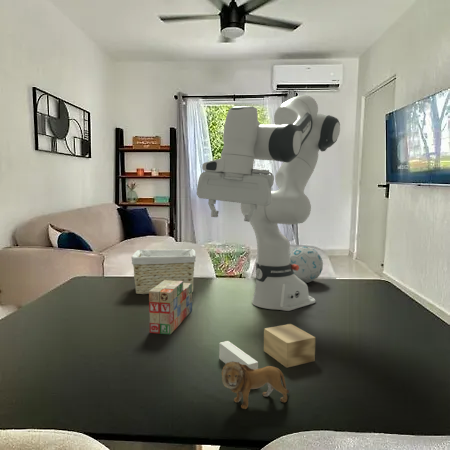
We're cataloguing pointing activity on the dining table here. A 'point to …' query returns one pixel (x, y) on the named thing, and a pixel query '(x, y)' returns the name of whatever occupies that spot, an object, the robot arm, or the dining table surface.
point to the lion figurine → (252, 380)
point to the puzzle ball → (306, 263)
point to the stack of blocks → (169, 305)
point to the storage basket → (162, 267)
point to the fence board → (235, 355)
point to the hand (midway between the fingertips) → (230, 219)
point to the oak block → (289, 345)
